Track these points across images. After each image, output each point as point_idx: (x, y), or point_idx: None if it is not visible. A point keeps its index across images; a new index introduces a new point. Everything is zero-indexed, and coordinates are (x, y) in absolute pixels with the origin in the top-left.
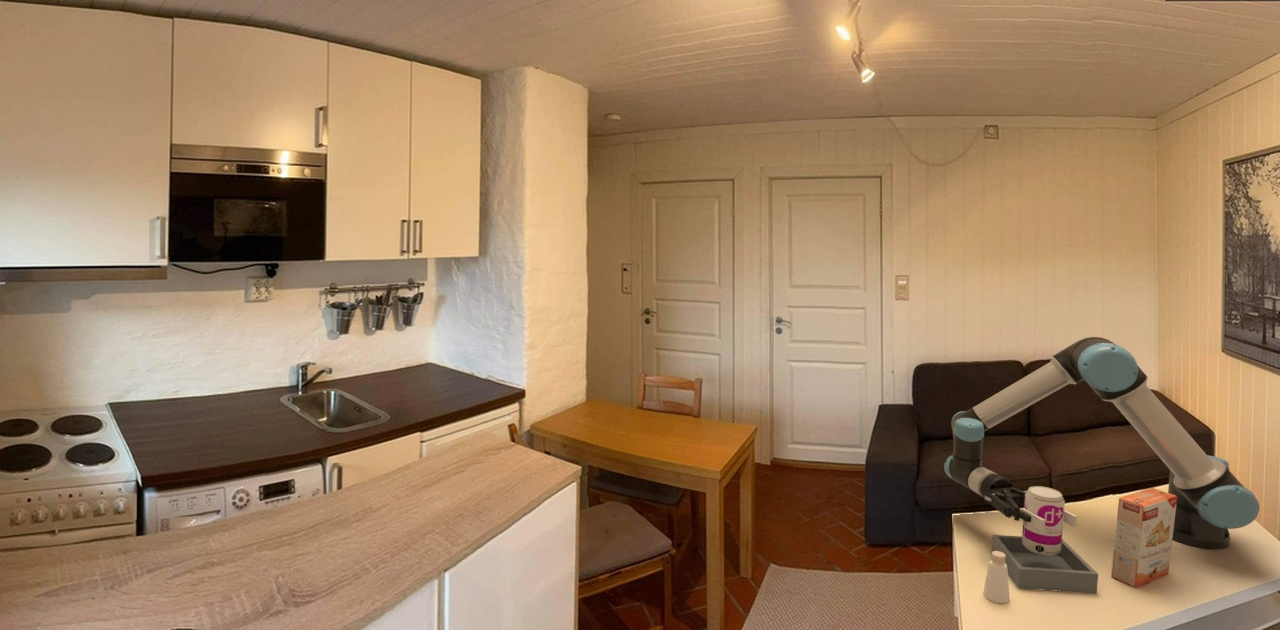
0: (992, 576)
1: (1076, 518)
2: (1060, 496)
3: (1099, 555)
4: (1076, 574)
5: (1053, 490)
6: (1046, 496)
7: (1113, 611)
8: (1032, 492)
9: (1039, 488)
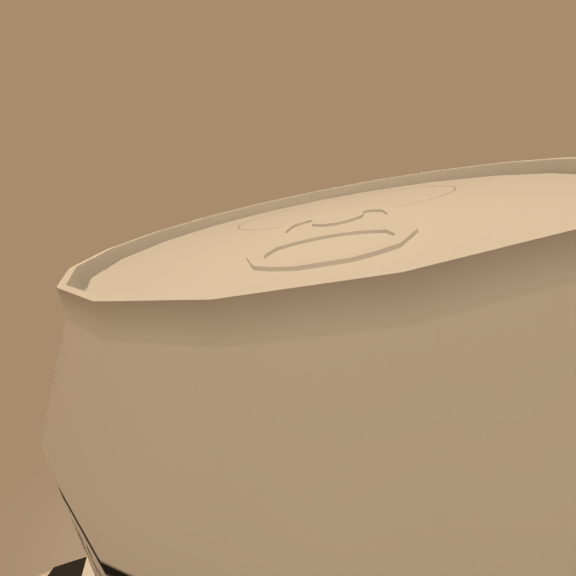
0: None
1: None
2: (202, 230)
3: None
4: None
5: (107, 282)
6: (378, 193)
7: None
8: (564, 177)
9: (359, 261)
